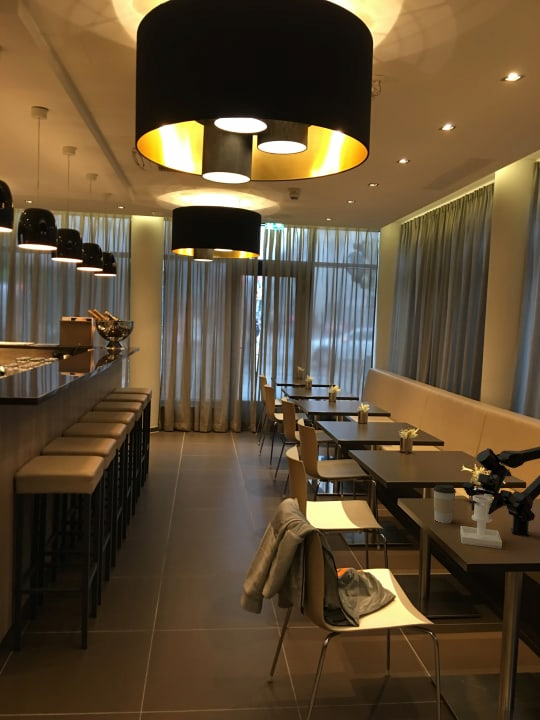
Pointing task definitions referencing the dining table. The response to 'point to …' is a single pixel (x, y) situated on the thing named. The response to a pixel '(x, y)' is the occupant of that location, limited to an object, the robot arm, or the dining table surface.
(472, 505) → the robot arm
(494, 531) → the white square tray
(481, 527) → the white flanged column
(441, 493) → the coffee cup
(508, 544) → the dining table surface
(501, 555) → the dining table surface
